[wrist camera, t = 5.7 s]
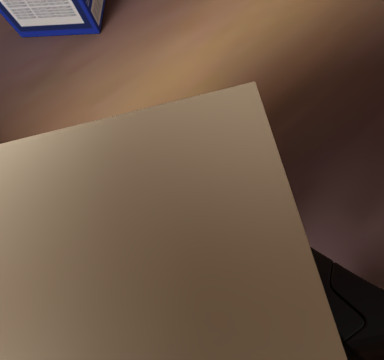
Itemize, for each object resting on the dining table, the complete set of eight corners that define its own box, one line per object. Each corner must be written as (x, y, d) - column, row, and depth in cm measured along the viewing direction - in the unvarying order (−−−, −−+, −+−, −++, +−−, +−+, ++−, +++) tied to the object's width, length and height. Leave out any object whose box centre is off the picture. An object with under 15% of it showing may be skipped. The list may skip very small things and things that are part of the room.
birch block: (253, 313, 14) (434, 622, 2) (162, 332, 15) (-167, 710, 2) (230, 221, 16) (254, 81, 4) (148, 239, 16) (-95, 167, 4)
